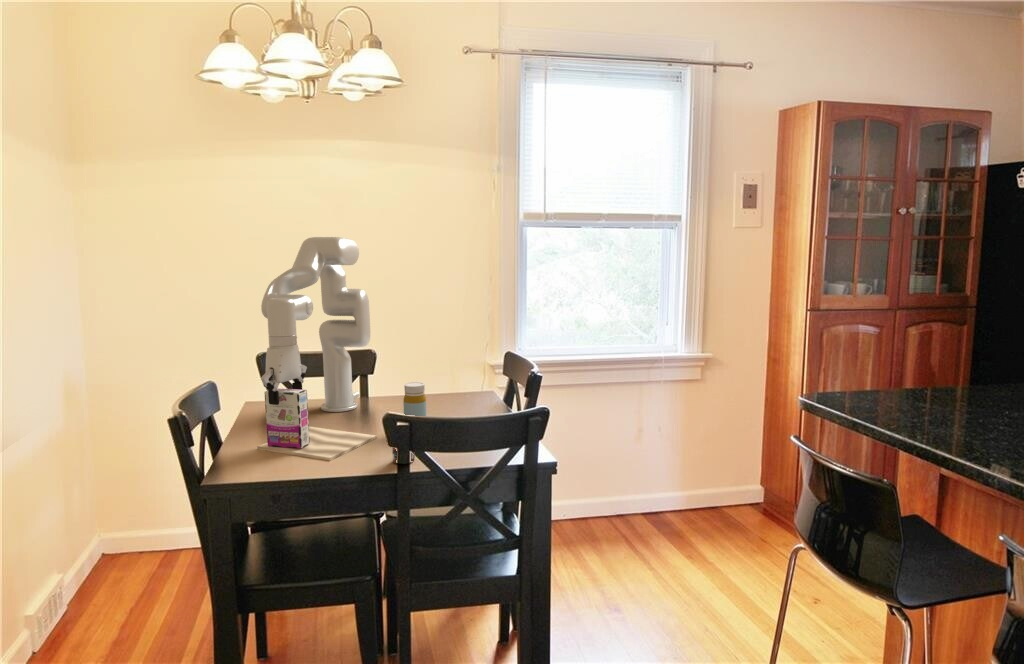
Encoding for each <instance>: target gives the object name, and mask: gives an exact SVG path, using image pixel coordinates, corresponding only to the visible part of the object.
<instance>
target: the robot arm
mask: <svg viewBox="0 0 1024 664" xmlns="http://www.w3.org/2000/svg"><path fill="white" fill-rule="evenodd" d="M359 256H360V249H359V246H358V244H357V243H356V242H355V241H354V239H349V238H344V237H340V236H311V237H308V238H306V239H305V240H303V242H302V243H301V245H300V248H299V250H298V253H297V255H296V257H295V260H294V262H293V264H292V266H291V268H289V269H287V270H286V271H284V272H283V273H281V274H280V275H278V276H276V278H274V279H273V280H271V281H270V283H269V284H268V286H267V288H266V289H265V293H264V295H263V298H262V300H261V305H260V306H261V309H260V310H261V314H262V316H263V317H265V318H266V320H267V329H268V330H267V331H268V332H267V333H268V334H267V335H268V347H267V349H266V353H265V373H264V374H263V375H262V376H261V377H260V380H261V382H262V385H263V387H264V388H265V390H266V391H268V397H269V404H273V405H278V404H279V392H278V391H277V389H279V385H280V384H283V383H285V382H290V381H293V382H292V383H291V385H292V386H291V389H300V390H303V383H304V379H305V377H306V371H307V369H308V367H307V365H304V364H302V363H301V362H302V360H301V359H302V358H301V354H300V353H301V352H300V350H299V349H300V348H299V346H298V341H297V340H298V336H297V321H305V320H307V319H309V318H310V316H311V315H312V314H313V312H314V311H313V310H314V303H313V300H312V299H311V298H310V297H309V296H307V295H305V294H291V293H294V292H296V291H300V290H303V289H305V288H309V287H311V286H313V285H315V284H316V283H317V282H318V281H319V279H320V290H321V291H320V292H321V307H322V310H323V313H324V314H325V315H327V316H330V317H331V316H332V317H353V318H354V319H329V320H325V321H323V322H322V323H321V324H320V326H319V328H318V337H319V339H320V345H321V350H322V361H323V385H324V386H323V387H324V401H325V402H324V403H322V404H321V405H320V409H321V410H322V411H324V412H331V413H339V412H341V413H343V412H347V411H352V410H355V409H356V408H358V403H357V402H356V401H355V399H357V398H359V397H360V393H359V392H358V391H356V392H353V377H352V376H353V375H352V374H353V373H352V357H351V355H350V353H349V352H348V351H347V349H346V348H361V347H362V348H363V347H366V346H368V345H369V343H370V342H371V317H370V316H371V315H370V314H371V312H370V301H369V296H368V293H367V292H366V291H365V290H363V289H361V288H348V287H347V281H346V279H347V278H346V277H347V276H346V272H345V270H344V269H343V267H342V266H353V265H355V264H356V263H357V262H358V260H359Z"/></svg>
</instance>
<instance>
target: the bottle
mask: <svg viewBox="0 0 1024 664" xmlns="http://www.w3.org/2000/svg"><path fill="white" fill-rule="evenodd" d="M403 387H404V396H403V415H404V414H405V415H415V416H427V397H426V395H425V394H426V393H425V383H424V382H417V381H415V382H413V381H412V382H408V383H404V386H403Z"/></svg>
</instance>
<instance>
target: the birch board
mask: <svg viewBox="0 0 1024 664" xmlns="http://www.w3.org/2000/svg"><path fill="white" fill-rule="evenodd" d="M309 438H310V444H309V445H307V446H305V447H304V448H302V449H297V448H283V447H269V446H268V441H267V442H264V443H262V444H259V445H257V446H256V449H257V450H261V451H266V450H267V451H268V452H274V453H279V454H287V455H292V456H298V457H299V456H300V457H305V458H312V459H318V460H325V461H333V460H334V458H335V459H337V458H339V457H341V456H342V455H345V454H347V453H349V452H351V451H353V450H355V448H356V449H358V448H360V447H362V446H363V444H364V445H365V443H366V444H368V443H369V441H370V442H372V441H374V440H376V439H378V436H377V435H376V434H368V433H367V434H366V433H362V432H352V431H344V430H339V429H331V428H323V427H316V426H309ZM375 438H376V439H375ZM373 439H374V440H373ZM371 440H372V441H371ZM367 442H368V443H367ZM361 445H362V446H361ZM359 446H360V447H359ZM357 447H358V448H357ZM267 451H266V452H267Z"/></svg>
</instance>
